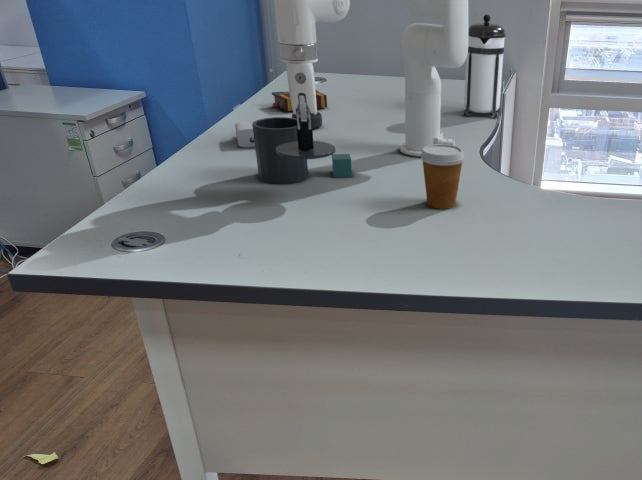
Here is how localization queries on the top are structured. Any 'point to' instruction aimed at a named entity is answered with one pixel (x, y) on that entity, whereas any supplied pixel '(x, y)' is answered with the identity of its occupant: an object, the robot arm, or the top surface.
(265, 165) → the container
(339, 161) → the block
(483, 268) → the top surface
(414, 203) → the top surface
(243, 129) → the charger
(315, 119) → the smart speaker
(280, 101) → the decorative book
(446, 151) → the disposable coffee cup
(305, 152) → the lid
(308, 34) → the robot arm
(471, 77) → the coffee press
